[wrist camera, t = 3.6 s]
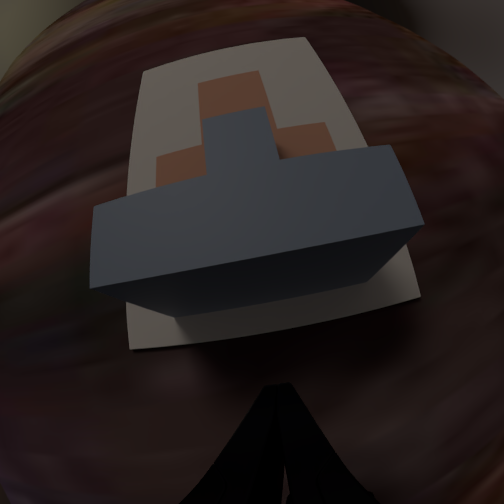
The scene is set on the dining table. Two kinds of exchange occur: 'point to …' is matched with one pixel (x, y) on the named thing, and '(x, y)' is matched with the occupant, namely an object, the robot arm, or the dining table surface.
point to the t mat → (288, 145)
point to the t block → (253, 225)
